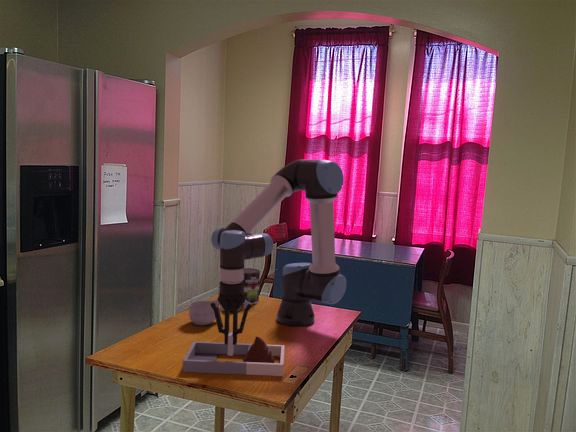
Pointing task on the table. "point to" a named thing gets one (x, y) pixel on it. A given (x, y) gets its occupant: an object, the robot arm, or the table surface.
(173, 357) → the table surface
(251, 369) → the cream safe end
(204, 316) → the teacup
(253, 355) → the poop emoji
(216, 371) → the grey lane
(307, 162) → the robot arm
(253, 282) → the coffee can
